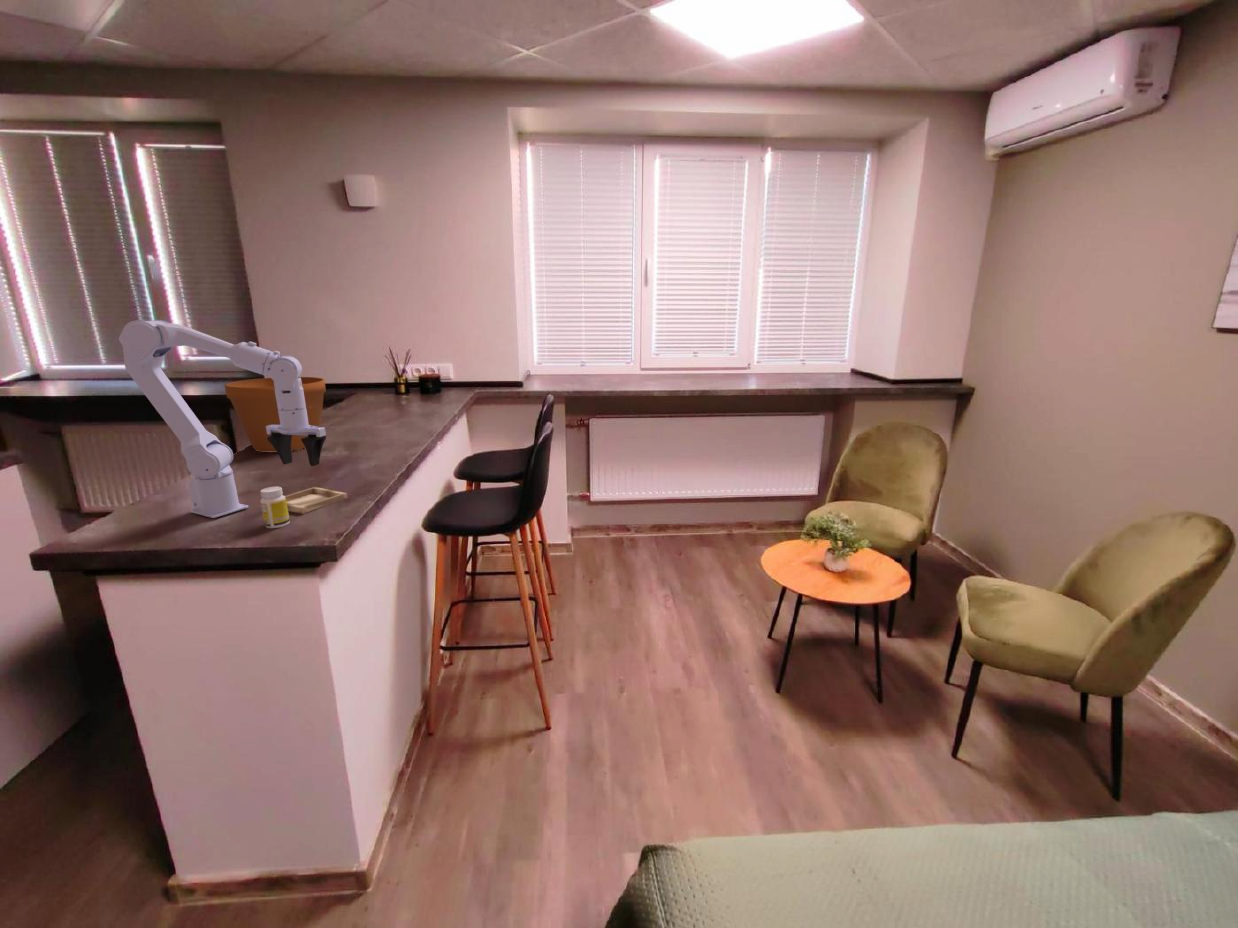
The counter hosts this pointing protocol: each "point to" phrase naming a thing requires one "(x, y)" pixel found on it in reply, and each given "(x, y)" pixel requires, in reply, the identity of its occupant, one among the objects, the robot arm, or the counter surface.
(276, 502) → the supplement bottle
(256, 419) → the flowerpot
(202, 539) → the counter surface
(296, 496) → the tray
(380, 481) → the counter surface
